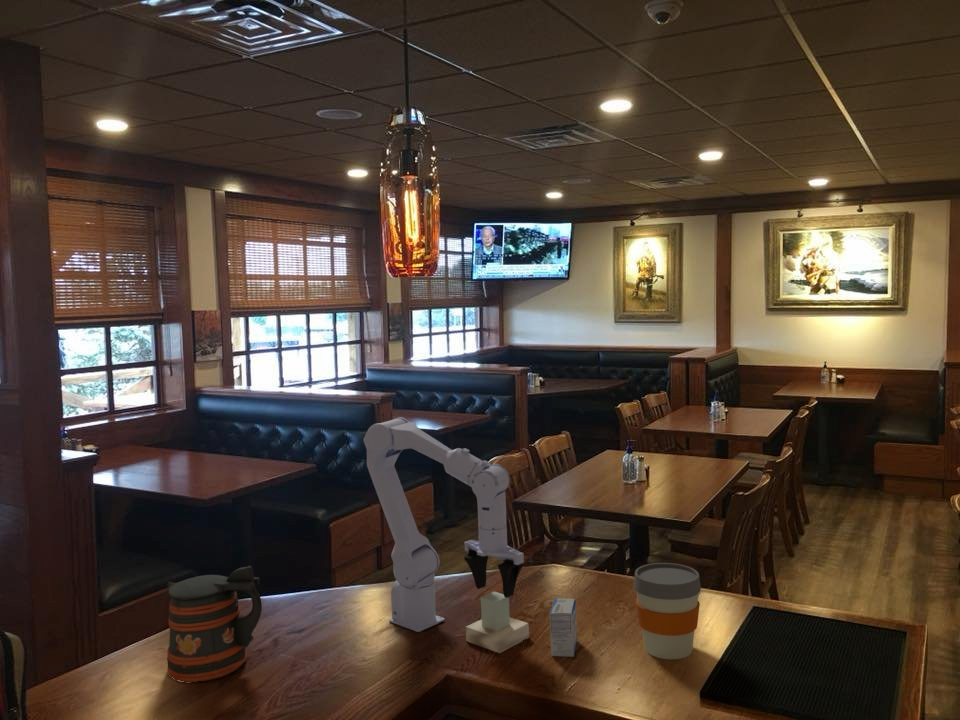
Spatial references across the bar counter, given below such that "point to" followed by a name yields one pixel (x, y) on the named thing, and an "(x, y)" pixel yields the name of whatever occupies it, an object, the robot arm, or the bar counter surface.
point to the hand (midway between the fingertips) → (494, 591)
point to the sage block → (495, 611)
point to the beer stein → (210, 625)
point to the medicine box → (563, 627)
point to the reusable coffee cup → (667, 608)
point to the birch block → (497, 635)
